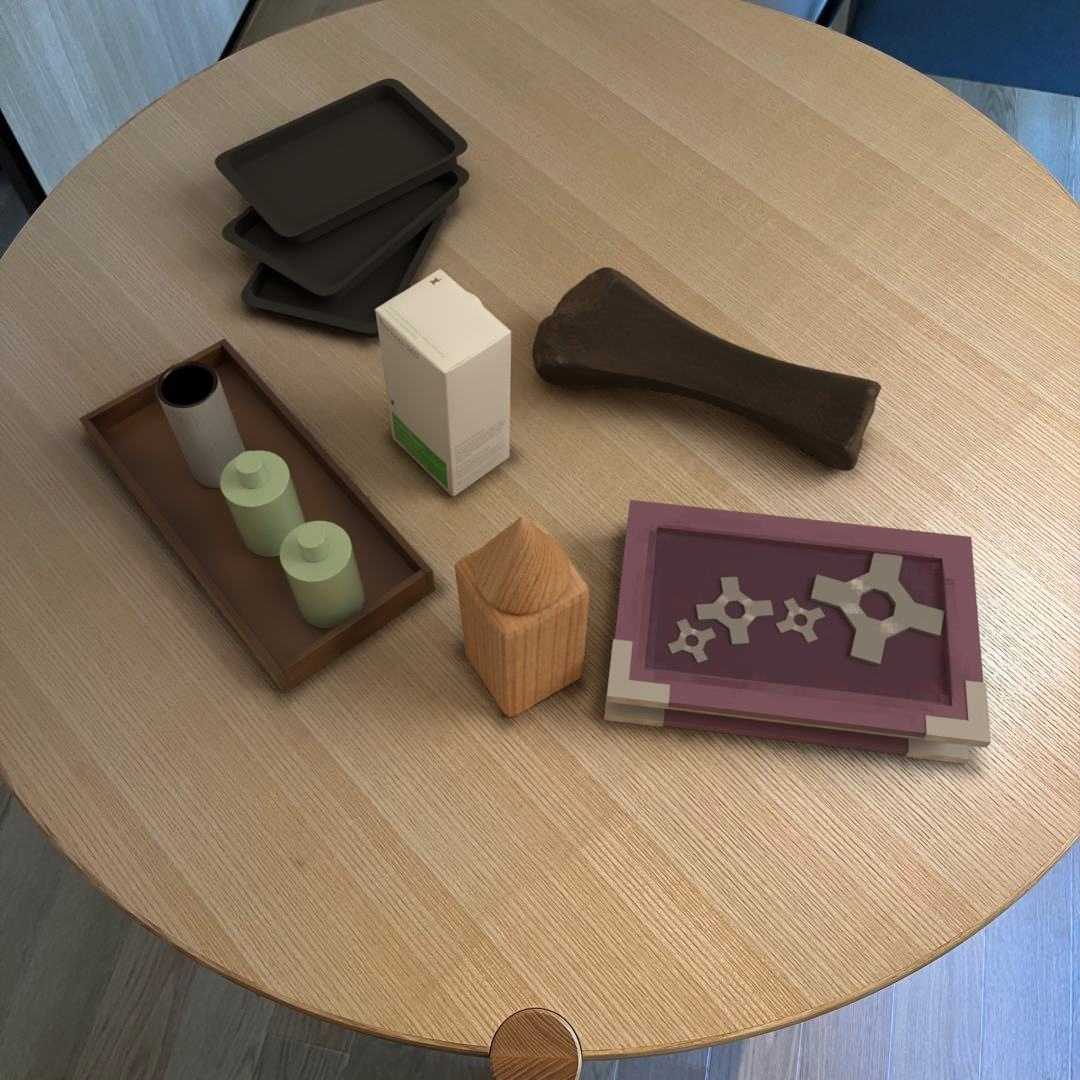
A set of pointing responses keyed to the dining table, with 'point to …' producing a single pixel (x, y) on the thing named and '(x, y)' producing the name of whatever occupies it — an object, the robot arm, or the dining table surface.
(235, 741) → the dining table surface
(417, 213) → the tray
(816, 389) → the dark brown bone
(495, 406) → the cosmetic box
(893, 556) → the book
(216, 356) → the walnut tray
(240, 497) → the bottles
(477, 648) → the decorative item
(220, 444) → the planter
